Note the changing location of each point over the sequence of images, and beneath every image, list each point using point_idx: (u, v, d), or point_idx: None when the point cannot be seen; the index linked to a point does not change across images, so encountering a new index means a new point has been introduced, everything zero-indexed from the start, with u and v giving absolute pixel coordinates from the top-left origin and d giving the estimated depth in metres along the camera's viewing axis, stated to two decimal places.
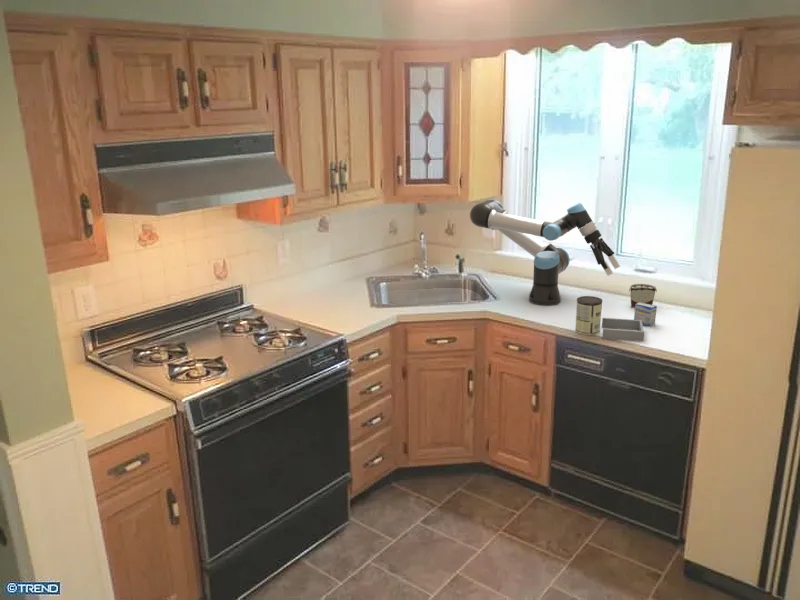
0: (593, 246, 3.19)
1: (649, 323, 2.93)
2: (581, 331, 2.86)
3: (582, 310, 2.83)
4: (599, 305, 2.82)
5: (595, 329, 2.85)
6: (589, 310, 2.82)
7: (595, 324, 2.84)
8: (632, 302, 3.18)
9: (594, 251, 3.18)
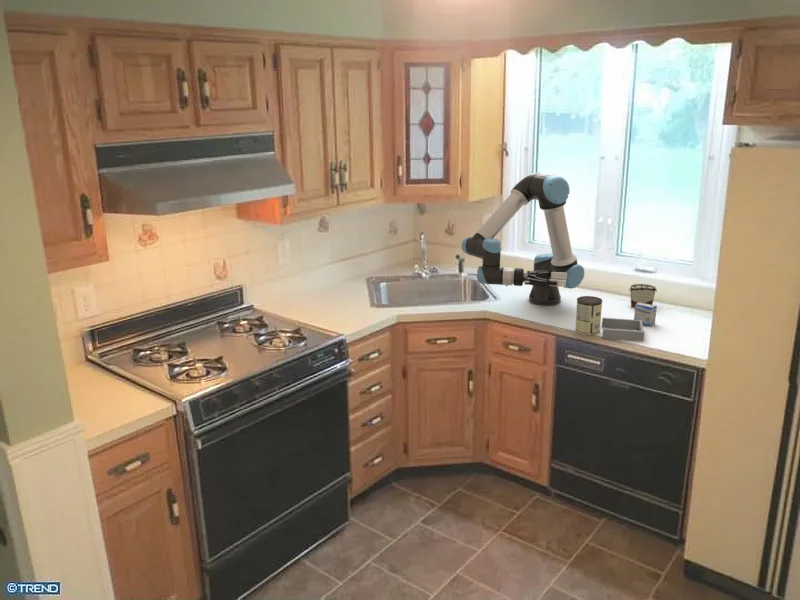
0: None
1: (649, 323, 2.93)
2: (581, 330, 2.86)
3: (582, 310, 2.83)
4: (599, 305, 2.82)
5: (595, 329, 2.85)
6: (589, 310, 2.82)
7: (595, 324, 2.84)
8: (632, 302, 3.18)
9: None
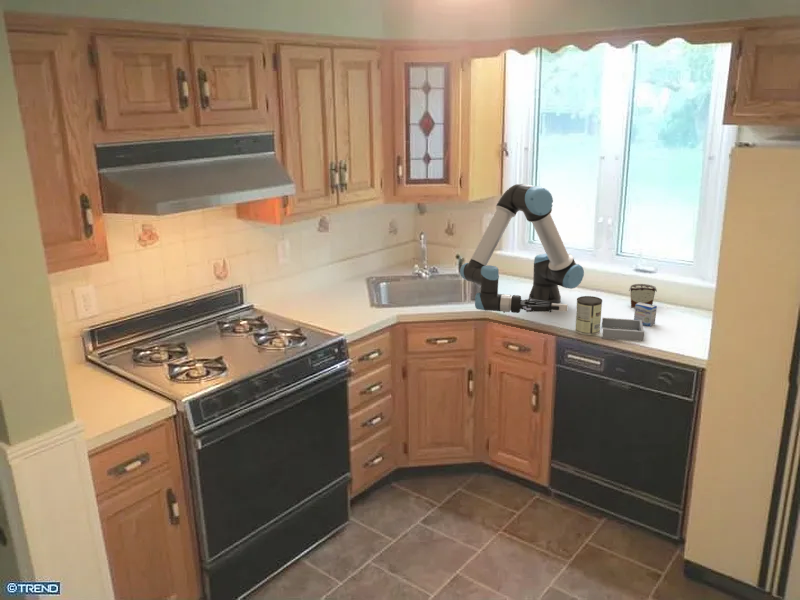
0: None
1: (649, 323, 2.93)
2: (581, 331, 2.86)
3: (582, 310, 2.83)
4: (599, 305, 2.82)
5: (595, 329, 2.85)
6: (589, 310, 2.82)
7: (595, 324, 2.84)
8: (632, 302, 3.18)
9: None
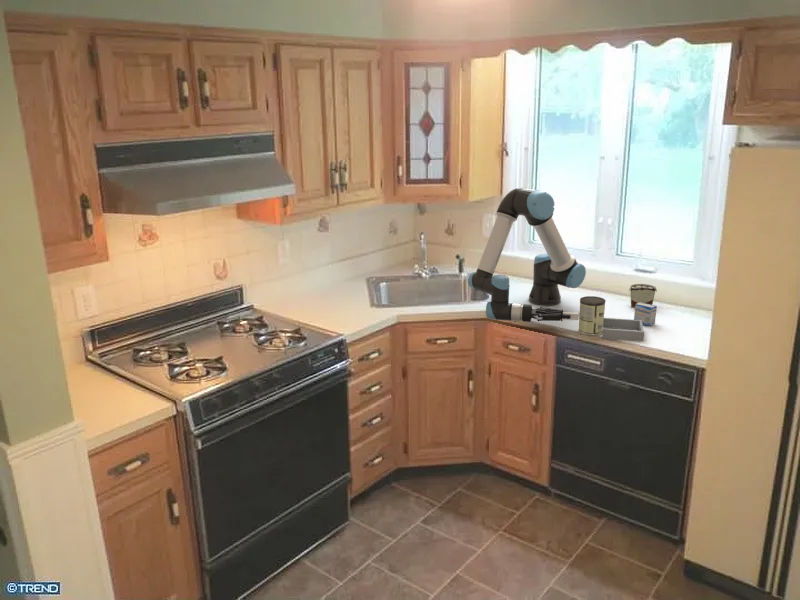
0: None
1: (649, 323, 2.93)
2: (584, 331, 2.85)
3: (586, 310, 2.83)
4: (602, 305, 2.82)
5: (598, 330, 2.84)
6: (592, 311, 2.81)
7: (599, 324, 2.83)
8: (632, 302, 3.18)
9: None
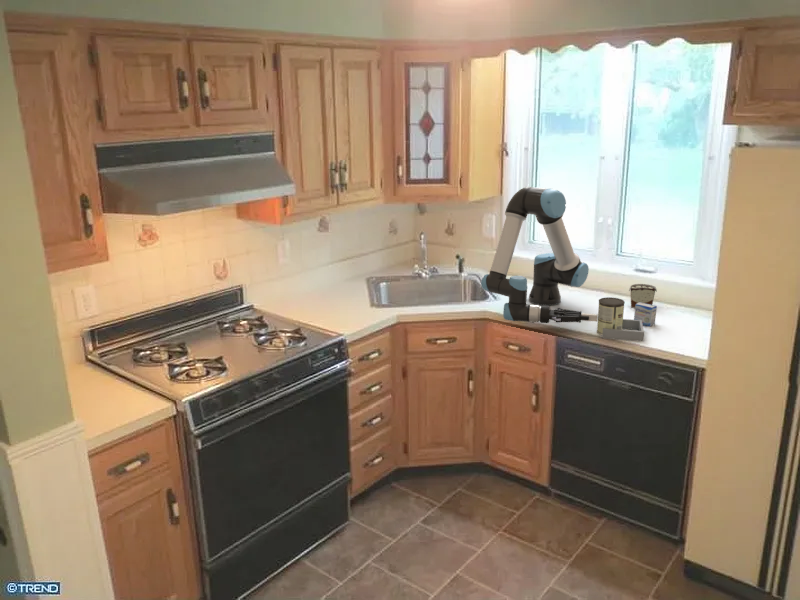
0: None
1: (649, 323, 2.93)
2: None
3: (605, 311, 2.81)
4: (621, 306, 2.80)
5: None
6: (611, 312, 2.79)
7: (618, 326, 2.81)
8: (632, 302, 3.18)
9: None
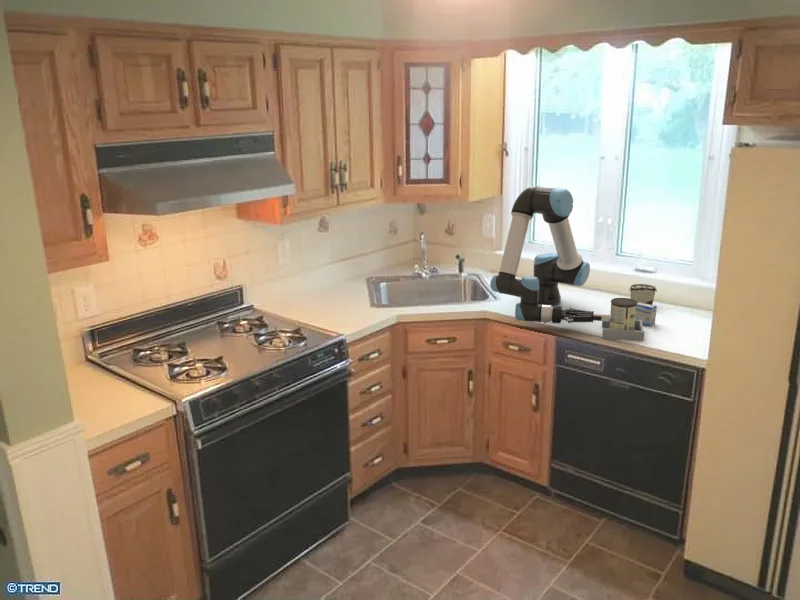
0: None
1: (649, 323, 2.93)
2: None
3: (616, 312, 2.80)
4: (634, 307, 2.79)
5: None
6: (623, 312, 2.79)
7: (630, 326, 2.81)
8: None
9: None
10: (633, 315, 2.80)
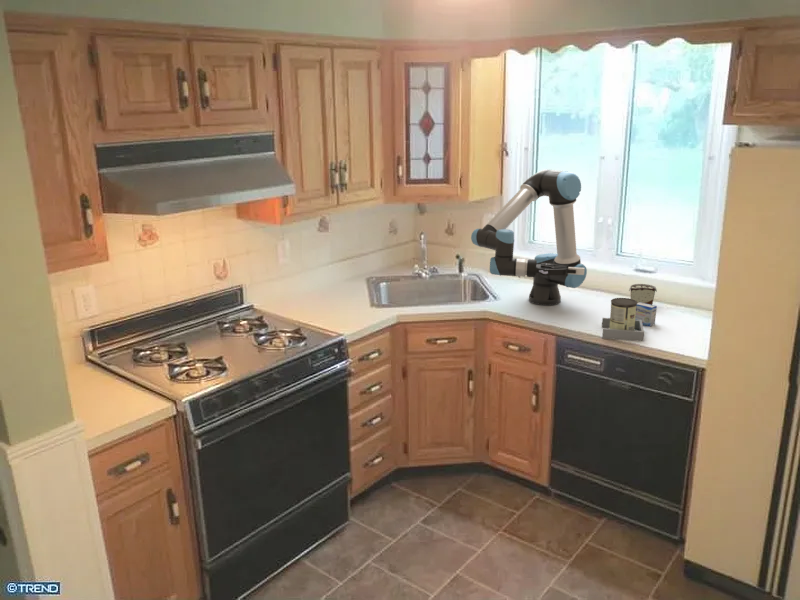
0: None
1: (649, 323, 2.93)
2: None
3: (616, 312, 2.80)
4: (634, 307, 2.79)
5: None
6: (623, 312, 2.79)
7: (630, 326, 2.81)
8: None
9: None
10: (633, 315, 2.80)
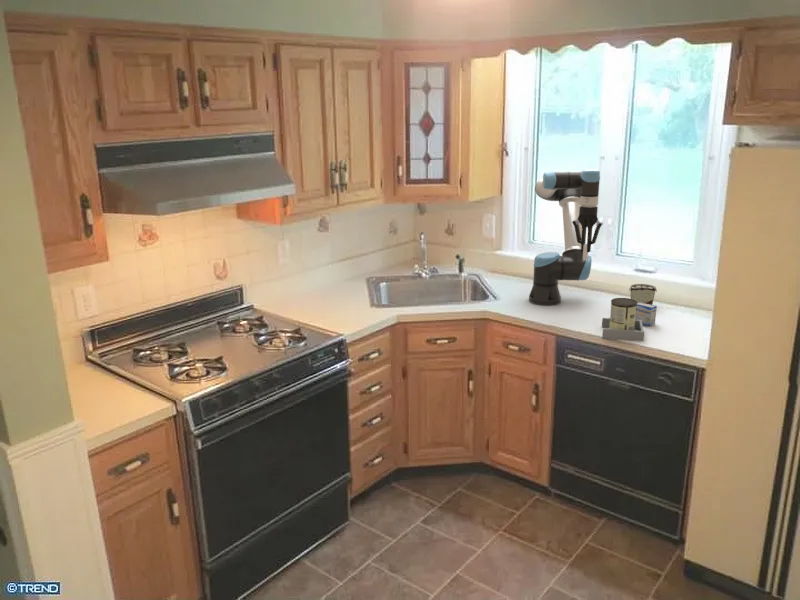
0: None
1: (649, 323, 2.93)
2: None
3: (616, 312, 2.80)
4: (634, 307, 2.79)
5: None
6: (623, 312, 2.79)
7: (630, 326, 2.81)
8: None
9: None
10: (633, 315, 2.80)
